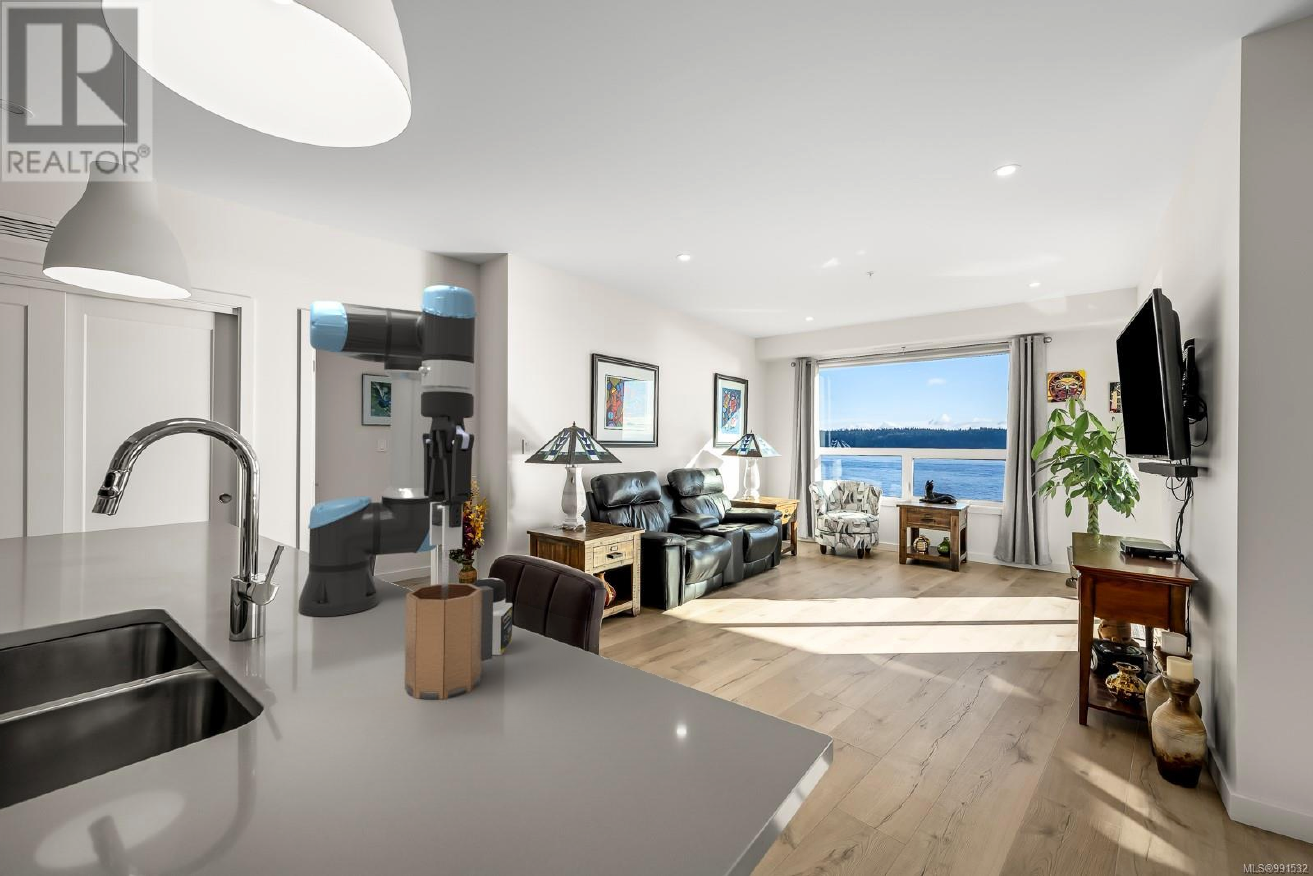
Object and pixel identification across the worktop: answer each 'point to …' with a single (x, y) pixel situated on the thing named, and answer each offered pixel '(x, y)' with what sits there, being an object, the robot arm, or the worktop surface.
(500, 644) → the medicine bottle
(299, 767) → the worktop surface
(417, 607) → the press carafe
